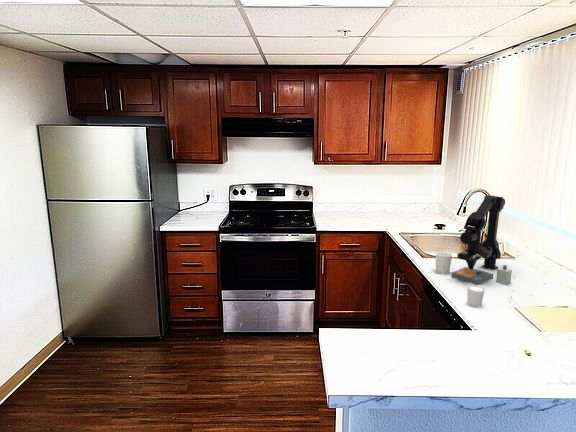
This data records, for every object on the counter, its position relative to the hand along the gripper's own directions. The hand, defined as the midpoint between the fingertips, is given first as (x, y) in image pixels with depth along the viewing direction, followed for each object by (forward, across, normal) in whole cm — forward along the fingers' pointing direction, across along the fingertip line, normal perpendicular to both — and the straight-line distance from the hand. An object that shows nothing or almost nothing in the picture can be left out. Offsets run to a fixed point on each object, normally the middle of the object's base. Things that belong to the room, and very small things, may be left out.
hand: (471, 270), depth 205 cm
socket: (+4, +2, 0) cm, 5 cm away
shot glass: (+5, -29, -18) cm, 34 cm away
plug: (+4, +7, -13) cm, 16 cm away
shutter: (+2, -4, 0) cm, 4 cm away
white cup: (+5, -3, +14) cm, 15 cm away
